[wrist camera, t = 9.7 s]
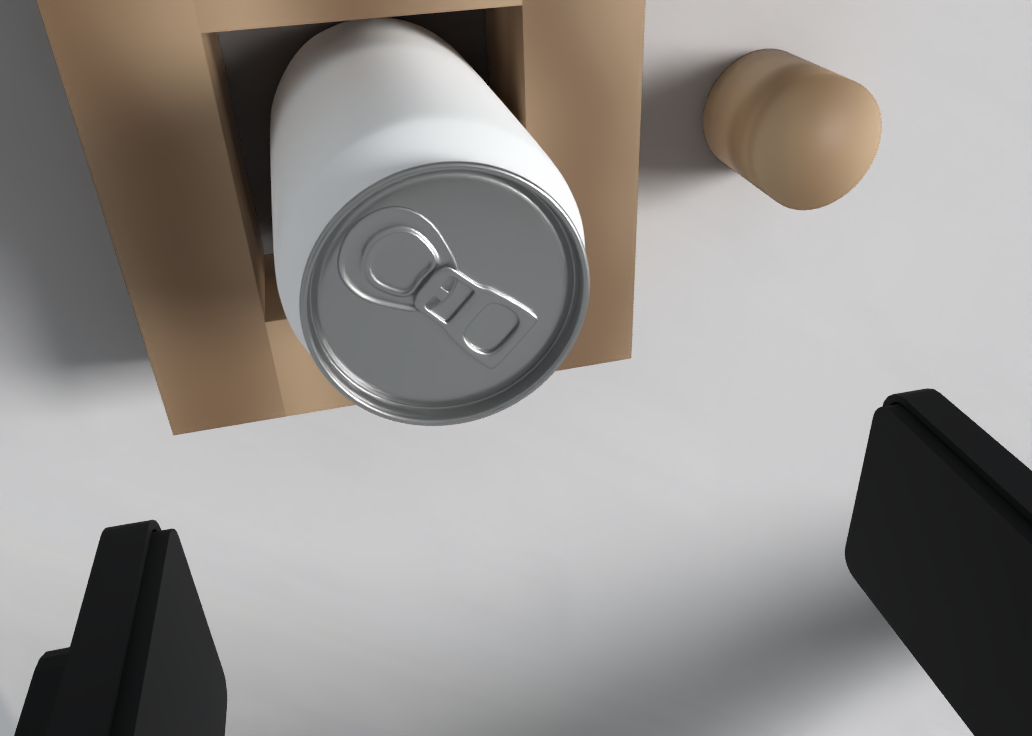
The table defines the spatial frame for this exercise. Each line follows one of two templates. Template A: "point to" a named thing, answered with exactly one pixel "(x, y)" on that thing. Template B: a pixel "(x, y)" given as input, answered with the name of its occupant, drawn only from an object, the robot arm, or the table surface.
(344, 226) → the can
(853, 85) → the peg short
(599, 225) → the wooden rectangular frame
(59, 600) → the table surface
